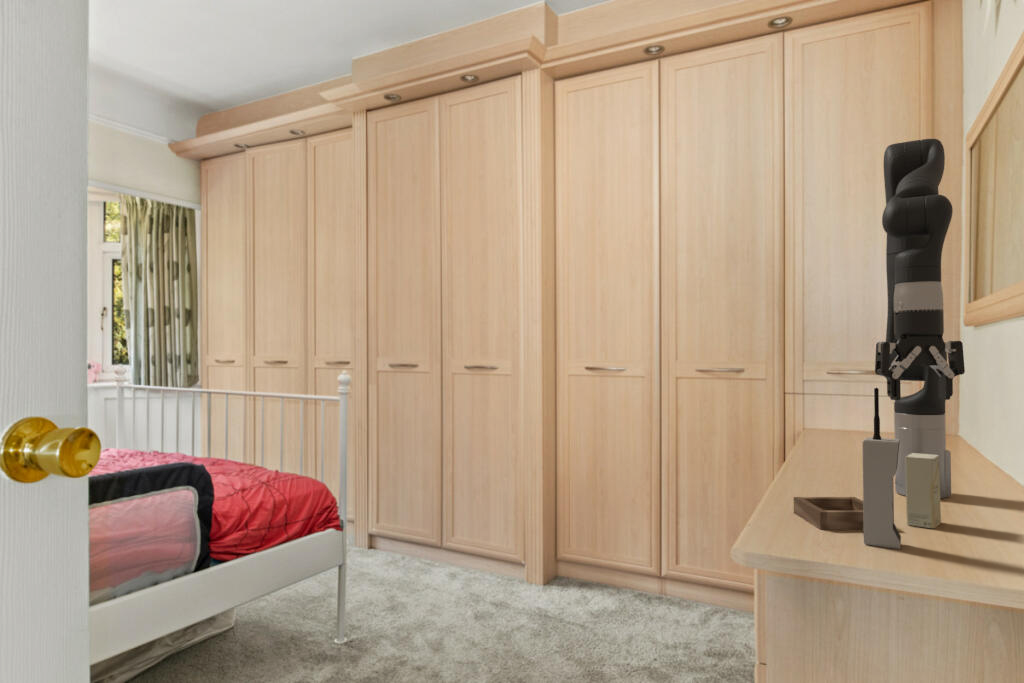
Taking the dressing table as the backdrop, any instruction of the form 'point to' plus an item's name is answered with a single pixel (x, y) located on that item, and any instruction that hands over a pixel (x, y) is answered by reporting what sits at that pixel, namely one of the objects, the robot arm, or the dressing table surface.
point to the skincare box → (923, 490)
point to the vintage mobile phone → (879, 486)
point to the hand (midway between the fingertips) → (919, 399)
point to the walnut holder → (831, 512)
